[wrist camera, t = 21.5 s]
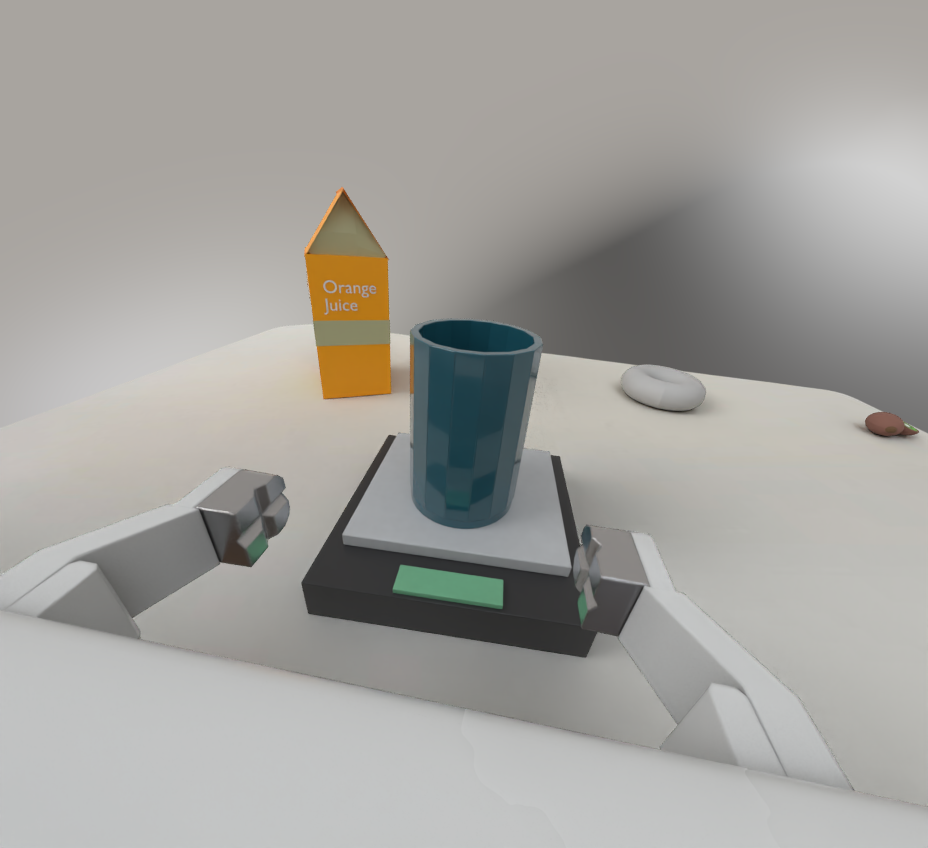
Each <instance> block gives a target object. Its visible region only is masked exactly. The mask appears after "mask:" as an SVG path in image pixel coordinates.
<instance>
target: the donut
mask: <svg viewBox="0 0 928 848" xmlns="http://www.w3.org/2000/svg"><path fill="white" fill-rule="evenodd" d="M621 385H622V389H623V390H624V392H625V393H626V394H627V395H628V396H630V397H631V398H633V399H635V400H636V401H638V402H640V403H643V404H645V405H648V406H651V407H655V408H659V409H664V410H672V411H684V410H690V409H693V408H695V407H697V406H699V405H700V404H702V402H703V401H704V398H705V395H706V389H705V387H704V385H703V384H702V383H701V381H699V380H698V379H696V378H695V377H693V376H692V375H689V374H687V373H685V372H682V371H679V370H676V369H672V368H668V367H662V366H657V365H638V366H634V367H631V368H629V369H628V370H627V371H626V372H625V373H624V374H623V375H622V377H621Z"/></svg>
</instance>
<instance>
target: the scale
mask: <svg viewBox="0 0 928 848" xmlns="http://www.w3.org/2000/svg"><path fill="white" fill-rule="evenodd" d="M578 547H580V544H579V539H578V535H577V531H576V526H575V522H574V517H573V513H572V509H571V504H570V500H569V495H568V491H567V487H566V482H565V478H564V474H563V469H562V465H561V460H560V456H553V455H550V452H549V451H542V450H534V449H526V448H523V453H522V458H521V463H520V468H519V474H518V479H517V484H516V489H515V495H514V498H513V501H512V505H511V507H510V509H509V511H508V512H507V513H506V515H505V516H504V517H502V518H501V519H500V520H498V521H497V522H495V523H493V524H491V525H488V526H485V527H480V528H474V529H457V528H451V527H447V526H443V525H440V524H438V523H435V522H433V521H431V520H430V519H428V518H427V517H425V516H424V515H423V514H422V513H421V512H419V510H418V509H417V508H416V507H415V505H414V503H413V501H412V498H411V486H410V434H406V433H398V434H397V436H393V435H389V436H388V437H387V439H386V441H385V442H384V444H383V446H382V447H381V449H380V451H379V453H378V454H377V456H376V458H375V459H374V461H373V463H372V464H371V466H370V468H369V469H368V471H367V473H366V474H365V476H364V478H363V480H362V481H361V483H360V485H359V486H358V488H357V490H356V491H355V493H354V495H353V496H352V498H351V500H350V502H349V503H348V505H347V507H346V508H345V510H344V512H343V513H342V515H341V517H340V518H339V520H338V522H337V524H336V525H335V527H334V529H333V530H332V532H331V534H330V535H329V537H328V539H327V540H326V542H325V544H324V545H323V547H322V549H321V551H320V552H319V554H318V556H317V557H316V559H315V561H314V562H313V564H312V566H311V567H310V569H309V571H308V573H307V574H306V576H305V578H304V579H303V581H302V583H301V584H302V588H303V592H304V597H305V601H306V605H307V610H308V613H310V614H316V615H323V616H329V617H335V618H342V619H348V620H354V621H360V622H367V623H373V624H379V625H386V626H392V627H398V628H404V629H411V630H417V631H423V632H430V633H436V634H442V635H448V636H455V637H461V638H467V639H474V640H480V641H486V642H492V643H499V644H505V645H511V646H518V647H524V648H530V649H536V650H543V651H549V652H555V653H562V654H568V655H574V656H580V657H586V656H587V654H588V652H589V650H590V647H591V645H592V643H593V641H594V638H595V636H596V634H597V632H595V631H590V630H586V629H581V624H580V618H579V611H578V605H577V601H578V598H579V596H580V592H579V591H578V589H577V588H576V587H575V585H574V578H573V565H574V557H575V554H576V550H577V548H578Z"/></svg>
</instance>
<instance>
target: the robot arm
mask: <svg viewBox="0 0 928 848" xmlns="http://www.w3.org/2000/svg"><path fill="white" fill-rule="evenodd" d="M285 488H286V487H285V483H284V480H283V478H282V477H280V476H278V475H273V474H268V473H262V472H257V471H252V470H246V469H245V470H244V469H239V468H233V467H225V468H221V469H220V470H219V471H217V472H216V473H215V474H213V475H212V476H211V477H209V478H208V479H207V480H206V481H204V482H203V483H202V484H200V485H199V486H198V487H196V488H195V489H194V490H192V491H191V492H190V493H189V494H187V495H186V496H185V497H183V498H182V499H181V500H179V501H178V502H177V503H176V504H174V505H172V504H167V505H164V506H161V507H158V508H155V509H153V510H150V511H147V512H144V513H142V514H139V515H136V516H133V517H130V518H128V519H125V520H122V521H119V522H116V523H114V524H111V525H108V526H105V527H102V528H100V529H97V530H94V531H91V532H88V533H86V534H83V535H80V536H77V537H74V538H72V539H69V540H66V541H63V542H60V543H58V544H55V545H52V546H49V547H46V548H44V549H41V550H38V551H37V552H35V553H34V554H32V555H31V556H29V557H28V558H26V559H25V560H23V561H21V562H20V563H18V564H17V565H15V566H14V567H12V568H11V569H9V570H8V571H6V572H5V573H3V574H1V575H0V848H928V806H923V805H919V804H914V803H909V802H904V801H900V800H895V799H890V798H885V797H881V796H876V795H871V794H867V793H862V792H857V791H855V790H854V789H853V787H852V785H851V784H850V782H849V780H848V779H847V777H846V775H845V774H844V772H843V770H842V769H841V767H840V765H839V764H838V762H837V760H836V759H835V757H834V755H833V754H832V752H831V750H830V748H829V747H828V745H827V743H826V742H825V740H824V738H823V737H822V735H821V733H820V732H819V730H818V728H817V727H816V725H815V723H814V722H813V720H812V718H811V717H810V715H809V713H808V712H807V710H806V708H805V707H804V705H803V703H802V702H801V700H800V698H799V697H798V696H797V695H796V694H794V693H793V692H792V691H791V690H790V689H789V688H788V687H787V686H786V685H785V684H783V683H782V682H781V681H780V680H779V679H778V678H777V677H776V676H775V675H773V674H772V673H771V672H770V671H769V670H768V669H767V668H766V667H765V666H764V665H762V664H761V663H760V662H759V661H758V660H757V659H756V658H755V657H754V656H753V655H751V654H750V653H749V652H748V651H747V650H746V649H745V648H744V647H743V646H742V645H740V644H739V643H738V642H737V641H736V640H735V639H734V638H733V637H732V636H730V635H729V634H728V633H727V632H726V631H725V630H724V629H723V628H722V627H721V626H719V625H718V624H717V623H716V622H715V621H714V620H713V619H712V618H711V617H710V616H708V615H707V614H706V613H705V612H704V611H703V610H702V609H701V608H700V607H699V606H697V605H696V604H695V603H694V602H693V601H692V600H691V599H690V598H689V597H687V596H686V595H685V594H684V593H681V592H677V591H676V589H675V587H674V584H673V582H672V580H671V578H670V575H669V573H668V571H667V569H666V566H665V564H664V562H663V560H662V557H661V555H660V553H659V551H658V548H657V546H656V544H655V542H654V539H653V537H652V536H651V535H650V534H648V533H641V532H634V531H625V530H619V529H612V528H606V527H599V526H592V525H586V526H585V527H584V529H583V532H582V535H581V537H582V542H583V545H581V546H580V547H578V548H577V550H576V554H575V557H574V565H573V578H574V585H575V587H576V588H577V589H578V591H579V592H580V596H579V598H578V601H577V605H578V611H579V618H580V624H581V629H586V630H590V631H595V632H600V633H604V634H609V635H614V636H618V639H619V641H620V642H621V644H622V645H623V646H624V648H625V649H626V651H627V652H628V654H629V655H630V657H631V658H632V659H633V661H634V662H635V664H636V665H637V667H638V668H639V670H640V671H641V672H642V674H643V675H644V677H645V678H646V680H647V681H648V683H649V684H650V685H651V687H652V688H653V690H654V691H655V693H656V694H657V696H658V697H659V698H660V700H661V701H662V703H663V704H664V706H665V707H666V709H667V710H668V711H669V713H670V714H671V716H672V717H673V719H674V720H675V722H676V723H677V724H678V725H677V726H676V727H675V729H674V730H673V731H672V732H671V734H670V735H669V736H668V737H667V738H666V740H665V741H664V742H663V743H662V745H661V746H660V749H655V748H650V747H646V746H641V745H636V744H631V743H627V742H622V741H617V740H613V739H608V738H603V737H598V736H594V735H589V734H584V733H580V732H575V731H570V730H566V729H561V728H556V727H551V726H547V725H542V724H537V723H533V722H528V721H523V720H518V719H514V718H509V717H504V716H500V715H495V714H490V713H486V712H481V711H476V710H471V709H467V708H462V707H457V706H453V705H448V704H443V703H439V702H434V701H429V700H424V699H420V698H415V697H410V696H406V695H401V694H396V693H391V692H387V691H382V690H377V689H373V688H368V687H363V686H359V685H354V684H349V683H344V682H340V681H335V680H330V679H326V678H321V677H316V676H311V675H307V674H302V673H297V672H293V671H288V670H283V669H278V668H274V667H269V666H264V665H259V664H255V663H250V662H245V661H240V660H236V659H231V658H226V657H222V656H217V655H212V654H207V653H203V652H198V651H193V650H188V649H184V648H179V647H174V646H169V645H165V644H160V643H155V642H150V641H146V640H141V639H139V638H140V630H139V628H138V627H137V625H136V623H135V622H134V620H133V619H132V618H133V617H134V616H136V615H138V614H139V613H141V612H143V611H144V610H146V609H147V608H149V607H151V606H152V605H154V604H156V603H157V602H159V601H161V600H162V599H164V598H165V597H167V596H169V595H170V594H172V593H174V592H175V591H177V590H179V589H180V588H182V587H183V586H185V585H187V584H188V583H190V582H192V581H193V580H195V579H196V578H198V577H200V576H201V575H203V574H205V573H206V572H208V571H210V570H211V569H213V568H214V567H216V566H218V565H219V564H220V562H221V563H228V564H234V565H241V566H247V567H252V566H253V565H254V563H255V562H256V561H257V560H258V559H259V557H260V556H261V555H262V554H263V552H264V551H265V550H266V549H267V548H268V539H270V538H272V537H274V536H275V535H277V534H279V533H280V531H281V530H282V529H283V528H284V526H285V524H286V522H287V519H288V517H289V511H290V506H289V501H288V499H287V498H286V497H285V496H284V495H283V494H282V492H283V490H284V489H285Z"/></svg>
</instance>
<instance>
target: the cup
mask: <svg viewBox="0 0 928 848" xmlns="http://www.w3.org/2000/svg"><path fill="white" fill-rule="evenodd" d="M542 347H543V344H542V340H541V338H540V337H539V336H537V335H536V334H534V333H533V332H531V331H529V330H526V329H522V328H520V327H517V326H514V325H510V324H505V323H499V322H495V321H487V320H478V319H452V318H451V319H440V320H430V321H427V322H423V323H420V324H417V325H415V326H414V327H413V328H412V329H411V331H410V486H411V498H412V501H413V503H414V505H415V507H416V508H417V509H418V510H419V512H421V513H422V514H423V515H424V516H425V517H427V518H428V519H430V520H431V521H433V522H435V523H438V524H440V525H443V526H447V527H451V528H457V529H474V528H480V527H485V526H488V525H491V524H493V523H495V522H497V521H498V520H500V519H501V518H502V517H504V516H505V515H506V513H507V512H508V511H509V509H510V507H511V505H512V501H513V498H514V495H515V489H516V484H517V479H518V474H519V468H520V463H521V458H522V453H523V447H524V442H525V437H526V432H527V426H528V421H529V416H530V410H531V405H532V400H533V395H534V389H535V384H536V379H537V374H538V368H539V363H540V358H541V353H542Z"/></svg>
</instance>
